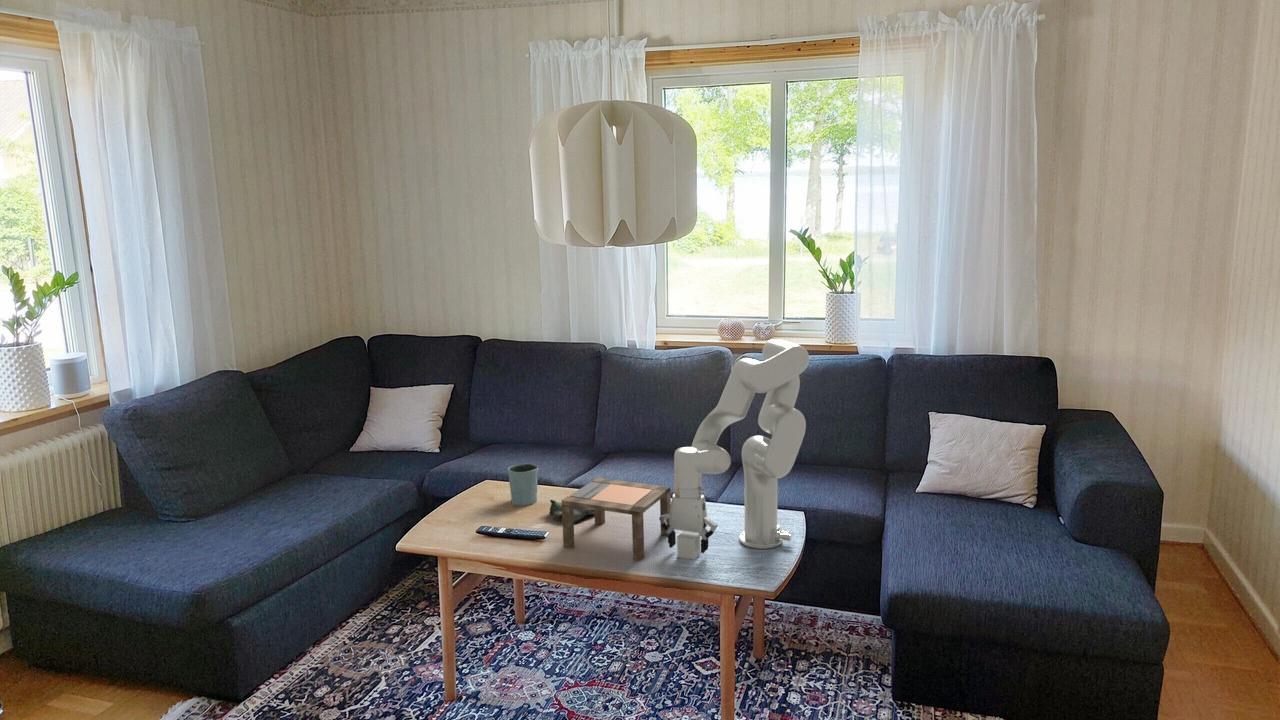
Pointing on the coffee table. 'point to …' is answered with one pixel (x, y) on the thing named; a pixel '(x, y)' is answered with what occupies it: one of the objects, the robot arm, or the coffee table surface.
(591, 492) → the trapdoor
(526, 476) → the teal cup
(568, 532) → the miniature wooden side table
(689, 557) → the light gray block
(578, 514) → the decorative rock
